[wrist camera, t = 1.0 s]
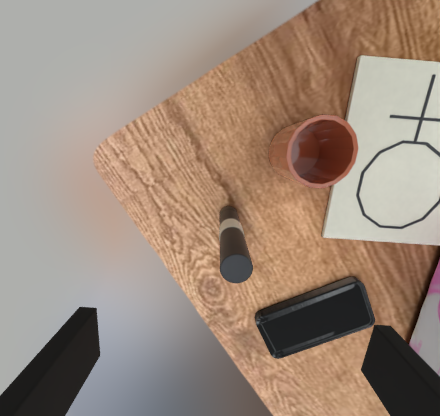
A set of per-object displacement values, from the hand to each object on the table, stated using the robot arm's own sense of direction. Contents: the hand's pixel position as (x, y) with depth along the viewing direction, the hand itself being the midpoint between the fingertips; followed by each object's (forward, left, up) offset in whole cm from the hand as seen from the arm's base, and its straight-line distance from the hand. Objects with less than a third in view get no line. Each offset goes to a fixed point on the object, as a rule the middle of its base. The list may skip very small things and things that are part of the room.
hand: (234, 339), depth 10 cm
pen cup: (-9, +7, -18) cm, 21 cm away
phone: (+13, +13, -18) cm, 26 cm away
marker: (-1, 0, -18) cm, 18 cm away
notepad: (-9, +20, -18) cm, 28 cm away
